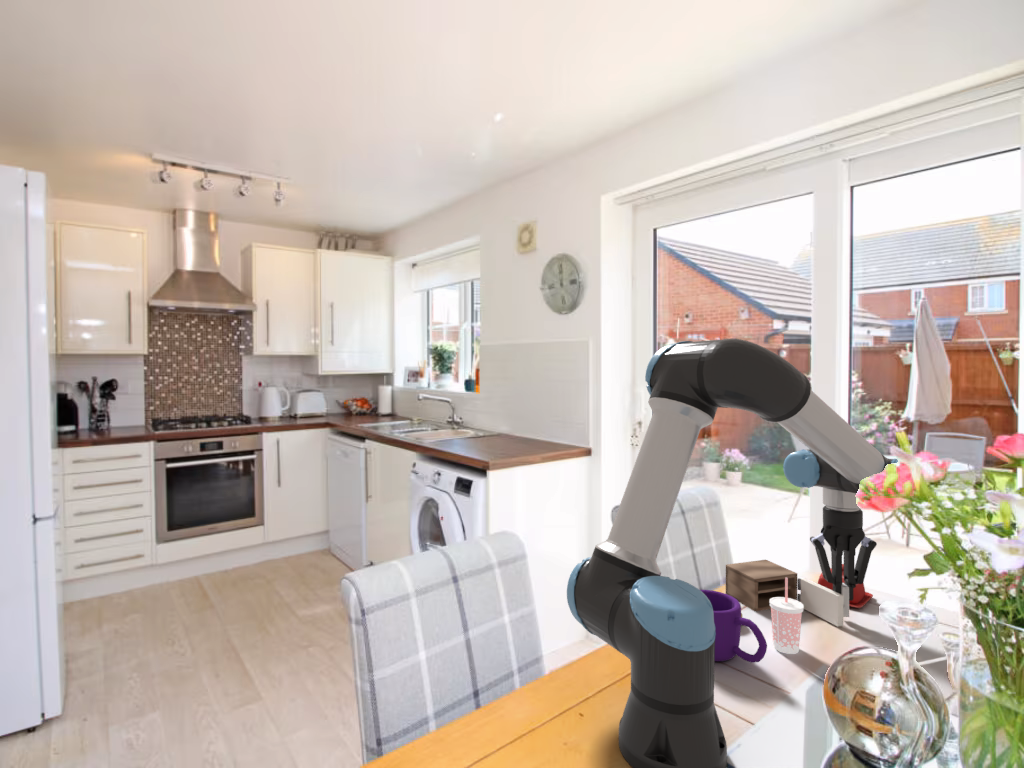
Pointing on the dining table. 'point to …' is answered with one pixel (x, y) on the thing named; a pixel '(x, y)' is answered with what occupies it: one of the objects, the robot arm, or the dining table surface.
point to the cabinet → (759, 583)
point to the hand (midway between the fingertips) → (843, 614)
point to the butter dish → (858, 591)
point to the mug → (732, 628)
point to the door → (821, 601)
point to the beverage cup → (786, 622)
